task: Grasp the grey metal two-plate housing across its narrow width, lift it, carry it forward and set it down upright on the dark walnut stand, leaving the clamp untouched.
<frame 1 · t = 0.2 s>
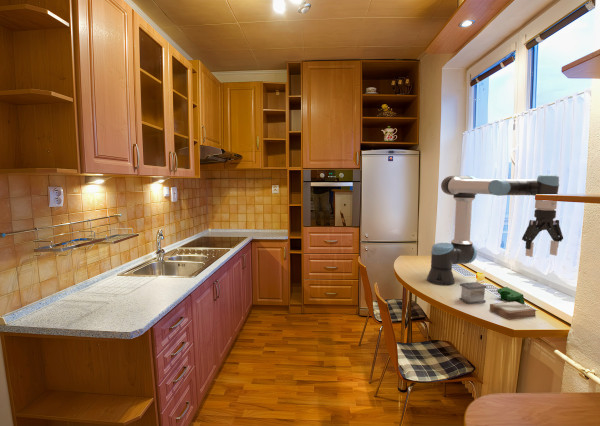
hand: (541, 255, 136), 28 cm above the table, fingers open, 13 cm apart
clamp: (509, 302, 153), on the table
stand: (511, 312, 139), on the table
housing: (472, 301, 153), on the table
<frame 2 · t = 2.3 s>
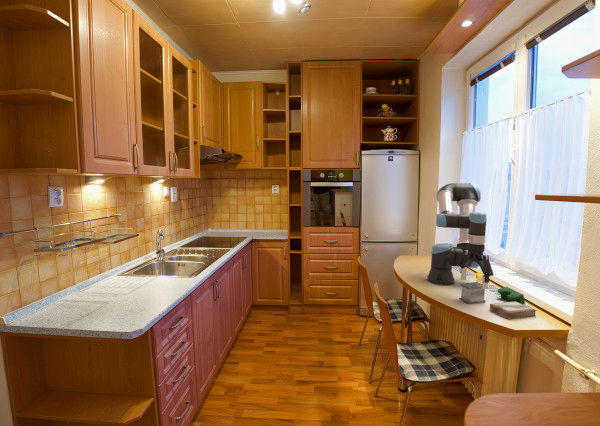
hand: (473, 284, 152), 9 cm above the table, fingers open, 13 cm apart
nothing on the table moved.
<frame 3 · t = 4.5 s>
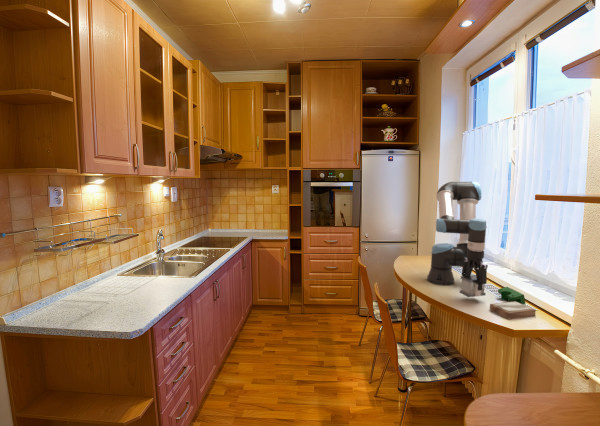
hand: (472, 293, 154), 4 cm above the table, fingers closed on housing, 6 cm apart
housing: (472, 293, 154), point 3 cm above the table, touching gripper
everything else where it was.
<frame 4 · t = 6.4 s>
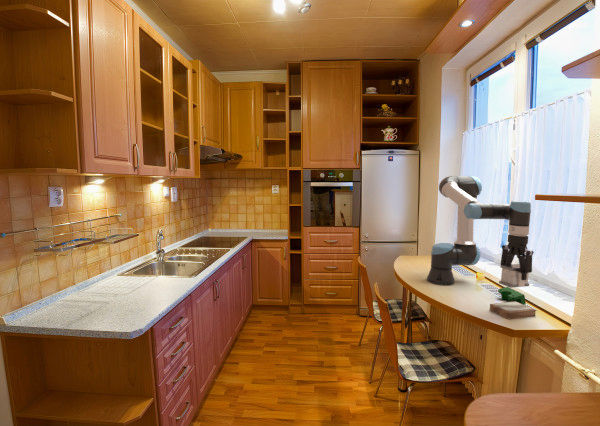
hand: (514, 283, 138), 14 cm above the table, fingers closed on housing, 6 cm apart
housing: (513, 284, 138), point 14 cm above the table, touching gripper
everything else where it was.
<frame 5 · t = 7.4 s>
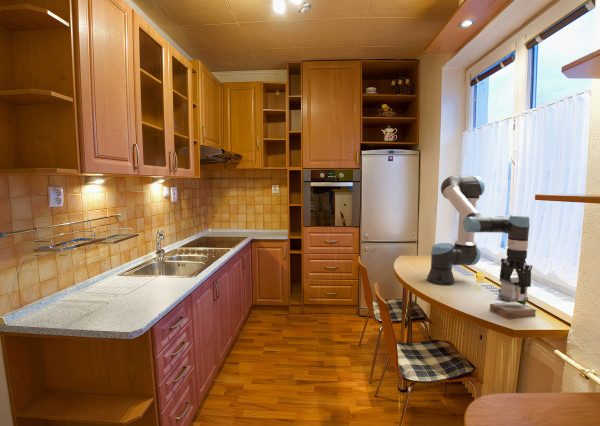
hand: (513, 297, 138), 8 cm above the table, fingers closed on housing, 6 cm apart
housing: (512, 298, 138), point 7 cm above the table, touching gripper
everything else where it was.
when the fingers open (4 cm above the table, at t = 8.4 s): housing stays where it is, resting on stand.
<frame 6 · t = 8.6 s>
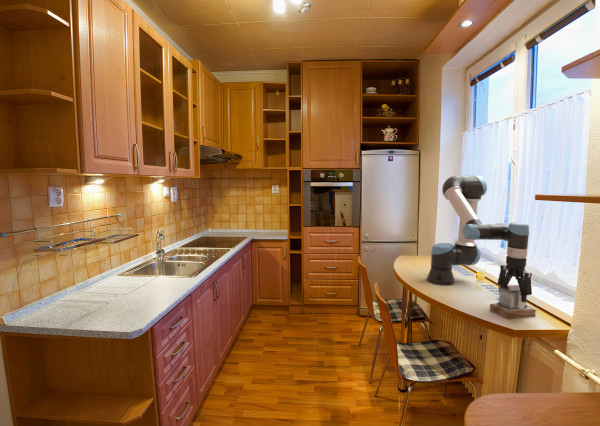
hand: (512, 304, 139), 4 cm above the table, fingers open, 8 cm apart
housing: (511, 306, 139), point 3 cm above the table, touching stand
everything else where it was.
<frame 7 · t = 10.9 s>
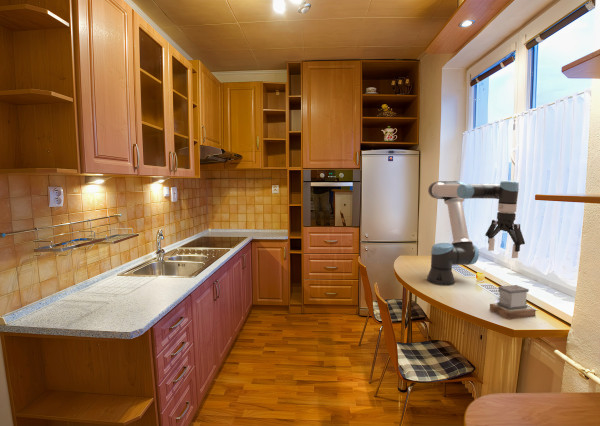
hand: (502, 254, 150), 25 cm above the table, fingers open, 13 cm apart
nothing on the table moved.
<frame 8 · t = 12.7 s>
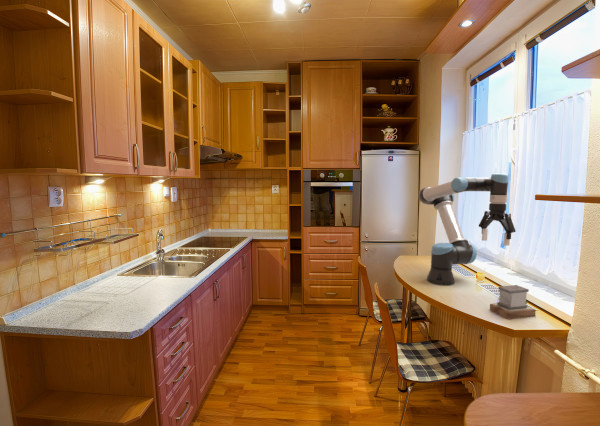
hand: (494, 242, 159), 29 cm above the table, fingers open, 13 cm apart
at the end: housing inside the target area on the stand (0.1 cm from its centre), point 3.2 cm above the stand's base; housing tilted 0°; the gripper is holding nothing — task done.
